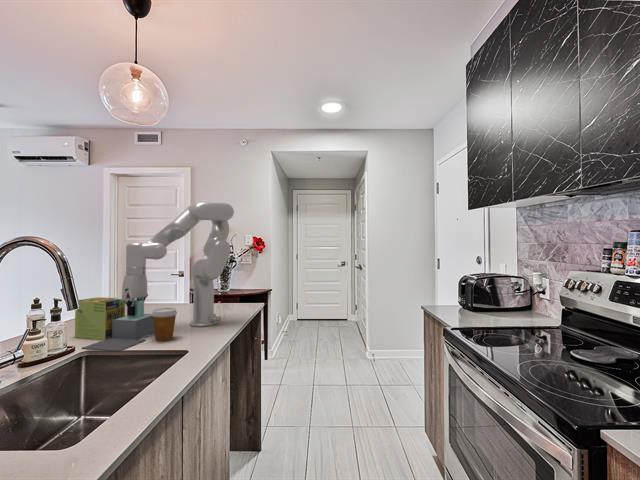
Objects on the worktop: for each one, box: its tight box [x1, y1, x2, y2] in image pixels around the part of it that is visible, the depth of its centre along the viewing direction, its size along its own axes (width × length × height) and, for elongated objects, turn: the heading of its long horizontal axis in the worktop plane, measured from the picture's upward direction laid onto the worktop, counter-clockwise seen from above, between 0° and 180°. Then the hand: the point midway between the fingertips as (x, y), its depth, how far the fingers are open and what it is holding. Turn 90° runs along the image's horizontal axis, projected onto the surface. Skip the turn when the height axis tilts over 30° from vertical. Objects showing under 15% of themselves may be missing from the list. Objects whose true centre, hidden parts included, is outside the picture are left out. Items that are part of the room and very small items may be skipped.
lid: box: [115, 299, 152, 321], centre depth 141 cm, size 10×12×8 cm
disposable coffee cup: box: [151, 307, 178, 342], centre depth 135 cm, size 10×10×12 cm
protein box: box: [74, 296, 126, 341], centre depth 140 cm, size 10×15×16 cm
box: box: [112, 315, 155, 339], centre depth 141 cm, size 11×13×8 cm
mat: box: [81, 338, 147, 353], centre depth 128 cm, size 16×14×1 cm
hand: (135, 313), depth 141 cm, fingers open, 4 cm apart
